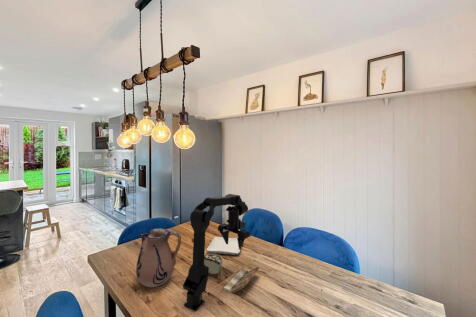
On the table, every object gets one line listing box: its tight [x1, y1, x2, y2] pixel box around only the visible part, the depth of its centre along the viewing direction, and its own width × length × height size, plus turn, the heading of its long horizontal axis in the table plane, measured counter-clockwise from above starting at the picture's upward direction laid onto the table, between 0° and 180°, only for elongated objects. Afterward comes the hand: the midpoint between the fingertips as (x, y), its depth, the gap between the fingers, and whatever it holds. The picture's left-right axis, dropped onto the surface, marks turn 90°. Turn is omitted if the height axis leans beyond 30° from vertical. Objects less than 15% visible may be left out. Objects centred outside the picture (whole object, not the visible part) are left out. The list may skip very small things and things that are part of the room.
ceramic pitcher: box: [135, 227, 182, 288], centre depth 108 cm, size 18×21×25 cm
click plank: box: [231, 266, 260, 294], centre depth 106 cm, size 18×7×1 cm
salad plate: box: [206, 236, 241, 256], centre depth 145 cm, size 21×21×3 cm
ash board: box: [223, 268, 249, 293], centre depth 109 cm, size 18×4×1 cm, turn 151°
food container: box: [204, 253, 224, 281], centre depth 114 cm, size 12×6×10 cm, turn 59°
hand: (233, 246), depth 116 cm, fingers open, 9 cm apart
